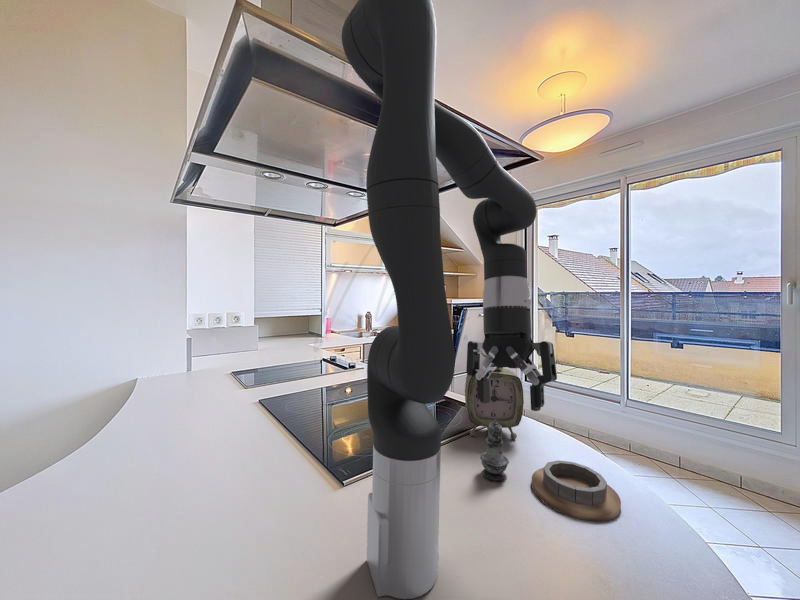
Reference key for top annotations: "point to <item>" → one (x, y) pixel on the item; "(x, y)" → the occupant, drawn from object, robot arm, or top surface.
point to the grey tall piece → (494, 455)
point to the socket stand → (576, 491)
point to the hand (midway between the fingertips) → (509, 406)
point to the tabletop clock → (496, 401)
